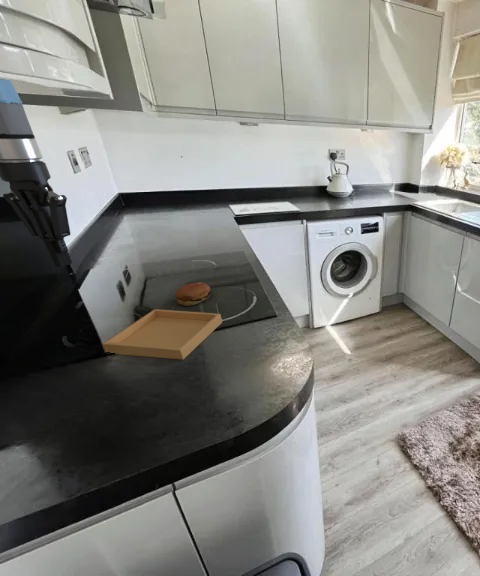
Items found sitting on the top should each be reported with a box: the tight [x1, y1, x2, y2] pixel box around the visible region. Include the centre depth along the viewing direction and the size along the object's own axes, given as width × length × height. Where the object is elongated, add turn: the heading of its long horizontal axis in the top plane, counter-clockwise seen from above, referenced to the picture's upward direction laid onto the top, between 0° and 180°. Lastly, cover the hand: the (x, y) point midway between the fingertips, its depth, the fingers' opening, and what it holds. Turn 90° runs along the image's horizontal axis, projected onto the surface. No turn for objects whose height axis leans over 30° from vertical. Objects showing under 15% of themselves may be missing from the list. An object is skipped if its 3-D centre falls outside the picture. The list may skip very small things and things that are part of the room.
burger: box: [175, 281, 213, 307], centre depth 101 cm, size 10×9×5 cm
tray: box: [102, 308, 223, 361], centre depth 83 cm, size 20×17×3 cm
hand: (64, 264), depth 78 cm, fingers closed
